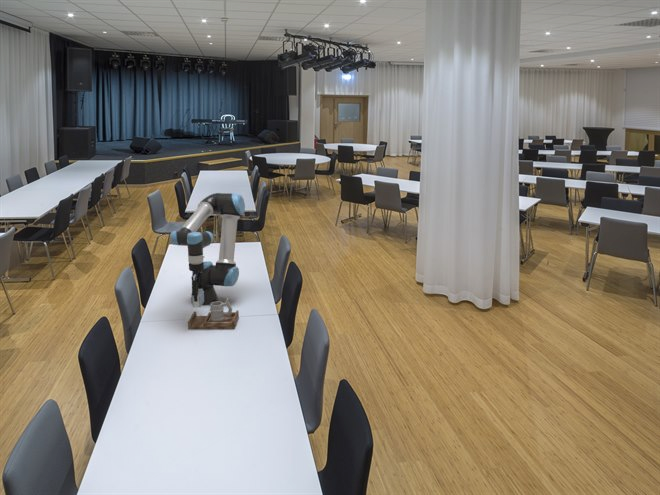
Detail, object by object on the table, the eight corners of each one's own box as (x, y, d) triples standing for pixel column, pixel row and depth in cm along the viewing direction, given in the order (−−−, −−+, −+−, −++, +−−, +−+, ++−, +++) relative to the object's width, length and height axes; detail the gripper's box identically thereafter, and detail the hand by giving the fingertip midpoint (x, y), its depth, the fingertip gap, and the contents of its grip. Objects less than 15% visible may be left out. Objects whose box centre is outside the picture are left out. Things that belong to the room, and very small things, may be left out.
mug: (209, 319, 293) (207, 298, 290) (231, 316, 297) (230, 295, 294) (211, 324, 286) (209, 302, 283) (233, 321, 290) (232, 300, 287)
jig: (188, 329, 284) (187, 321, 282) (194, 318, 298) (194, 310, 297) (234, 329, 284) (234, 321, 283) (238, 318, 298) (238, 310, 297)
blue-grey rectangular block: (200, 307, 284) (199, 296, 282) (192, 307, 284) (192, 296, 282) (204, 301, 292) (203, 290, 291) (196, 301, 292) (196, 290, 291)
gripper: (198, 268, 272) (201, 311, 277) (207, 256, 293) (209, 296, 299) (183, 268, 272) (186, 311, 277) (193, 256, 293) (196, 296, 298)
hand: (198, 303), depth 288 cm, fingers closed on blue-grey rectangular block, 9 cm apart
